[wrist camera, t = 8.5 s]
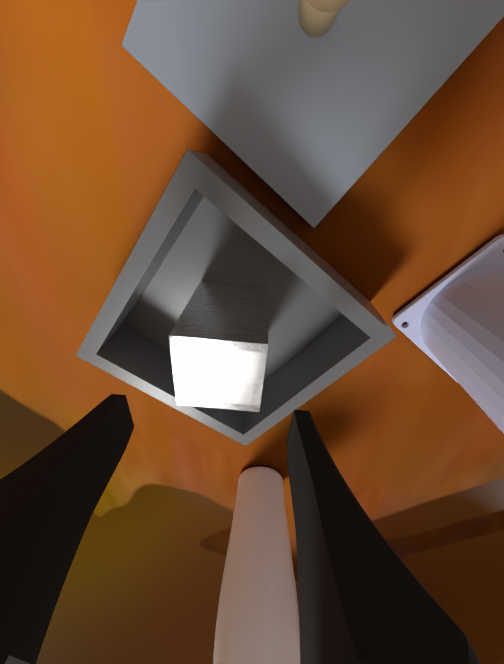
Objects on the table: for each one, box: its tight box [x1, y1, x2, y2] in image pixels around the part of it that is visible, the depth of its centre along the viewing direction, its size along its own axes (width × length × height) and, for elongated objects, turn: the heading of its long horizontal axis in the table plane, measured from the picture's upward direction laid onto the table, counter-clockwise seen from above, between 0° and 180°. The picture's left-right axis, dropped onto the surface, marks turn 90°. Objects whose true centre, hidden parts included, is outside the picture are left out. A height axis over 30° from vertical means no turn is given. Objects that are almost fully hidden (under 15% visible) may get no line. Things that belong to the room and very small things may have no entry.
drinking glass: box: [213, 466, 300, 664], centre depth 25 cm, size 7×7×15 cm
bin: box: [76, 149, 396, 446], centre depth 18 cm, size 14×14×4 cm
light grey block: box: [169, 280, 268, 412], centre depth 16 cm, size 5×5×7 cm
